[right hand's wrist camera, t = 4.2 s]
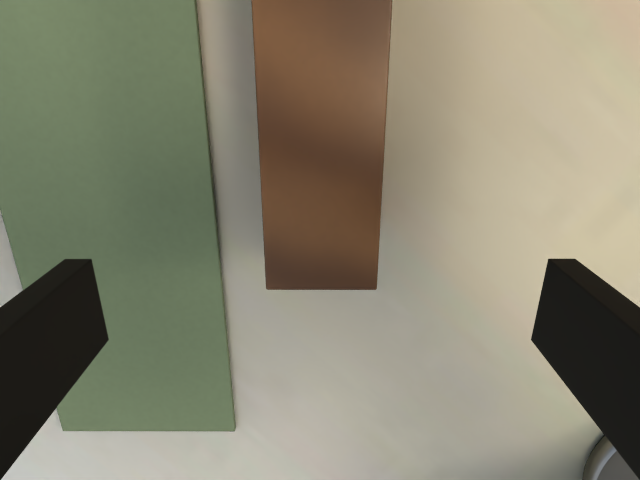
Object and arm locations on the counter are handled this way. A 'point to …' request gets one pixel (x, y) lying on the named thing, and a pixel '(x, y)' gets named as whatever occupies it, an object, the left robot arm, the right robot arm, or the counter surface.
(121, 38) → the mat
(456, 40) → the counter surface
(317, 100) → the walnut box
